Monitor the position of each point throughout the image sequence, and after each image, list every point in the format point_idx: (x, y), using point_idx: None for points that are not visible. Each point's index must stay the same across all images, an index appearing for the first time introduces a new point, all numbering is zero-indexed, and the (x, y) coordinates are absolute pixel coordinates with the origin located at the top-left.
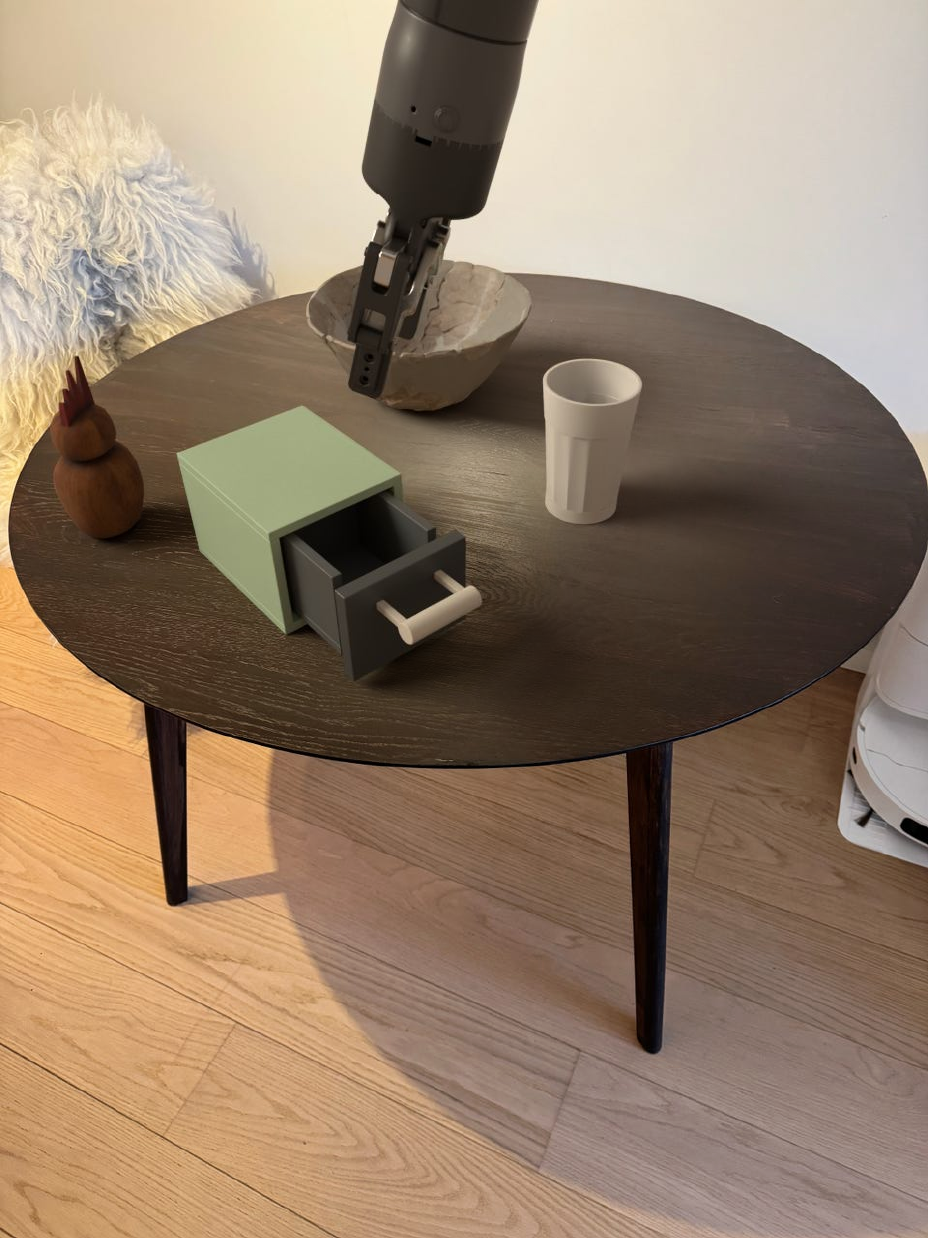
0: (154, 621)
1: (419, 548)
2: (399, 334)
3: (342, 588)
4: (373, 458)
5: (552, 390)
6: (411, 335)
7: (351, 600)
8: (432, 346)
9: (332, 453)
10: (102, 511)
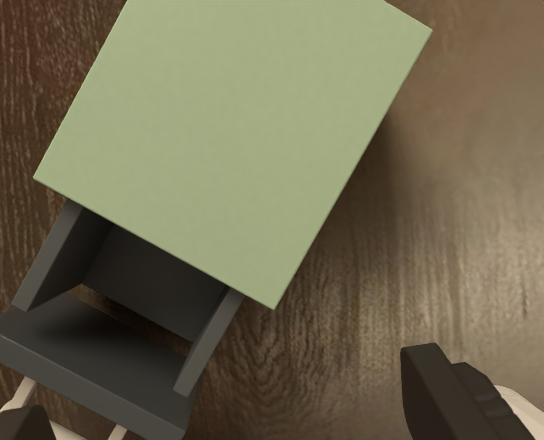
0: (67, 10)
1: (119, 400)
2: (405, 387)
3: None
4: (301, 244)
5: None
6: (409, 426)
7: None
8: None
9: (290, 167)
10: None
